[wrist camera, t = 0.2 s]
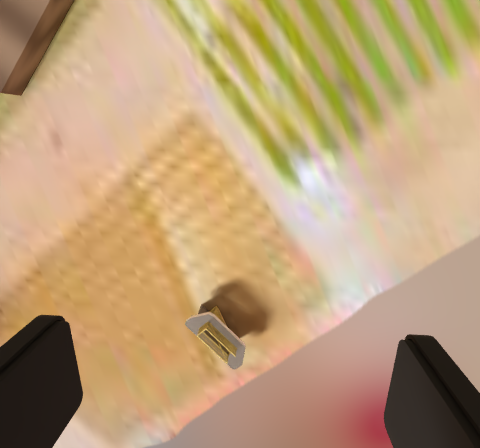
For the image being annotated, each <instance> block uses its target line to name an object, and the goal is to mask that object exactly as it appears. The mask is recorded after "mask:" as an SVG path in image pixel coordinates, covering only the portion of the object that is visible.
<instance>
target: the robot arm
mask: <svg viewBox="0 0 480 448" xmlns="http://www.w3.org/2000/svg"><path fill="white" fill-rule="evenodd" d="M82 397H83V391H82V386H81V381H80V375H79V370H78V365H77V360H76V355H75V350H74V345H73V340H72V335H71V330H70V325H69V323H68V322H66V321H65V319H64V318H63V317H62V316H54V315H39V316H38V317H36V318H35V319H34V320H32V321H31V322H30V323H29V324H28V325H26V326H25V327H24V328H23V329H22V330H20V331H19V332H18V333H17V334H16V335H14V336H13V337H12V338H11V339H10V340H8V341H7V342H6V343H5V344H4V345H2V346H1V347H0V448H52V447H53V446H54V444H55V443H56V441H57V440H58V438H59V437H60V435H61V434H62V432H63V430H64V429H65V427H66V426H67V424H68V423H69V421H70V420H71V418H72V417H73V415H74V414H75V412H76V411H77V409H78V408H79V406H80V404H81V401H82ZM384 422H385V427H386V430H387V433H388V435H389V438H390V440H391V443H392V445H393V447H394V448H480V393H479V392H478V391H477V389H476V388H475V387H474V386H473V384H472V383H471V382H470V381H469V380H468V378H467V377H466V376H465V375H464V373H463V372H462V371H461V370H460V368H459V367H458V366H457V365H456V364H455V362H454V361H453V360H452V359H451V357H450V356H449V355H448V354H447V353H446V352H445V350H444V349H443V348H442V346H441V345H440V344H439V343H438V341H437V340H436V339H435V338H434V337H432V336H428V335H407V336H406V338H405V340H400V341H399V344H398V349H397V354H396V359H395V363H394V368H393V373H392V378H391V383H390V387H389V392H388V398H387V403H386V407H385V412H384Z"/></svg>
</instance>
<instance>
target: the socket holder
mask: <svg viewBox="0 0 480 448" xmlns="http://www.w3.org/2000/svg"><path fill="white" fill-rule="evenodd" d="M73 1H74V0H0V93H5V94H13V95H21V94H22V93H23V91H24V89H25V87H26V85H27V84H28V82H29V80H30V78H31V76H32V75H33V73H34V71H35V69H36V67H37V66H38V64H39V62H40V60H41V58H42V57H43V55H44V53H45V51H46V49H47V48H48V46H49V44H50V42H51V40H52V39H53V37H54V35H55V33H56V32H57V30H58V28H59V26H60V24H61V23H62V21H63V19H64V17H65V15H66V14H67V12H68V10H69V8H70V6H71V5H72V3H73Z"/></svg>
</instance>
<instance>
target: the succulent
mask: <svg viewBox="0 0 480 448" xmlns="http://www.w3.org/2000/svg"><path fill="white" fill-rule="evenodd" d="M185 325H186V326H187V327H188V328H189V329H190V330H191V331H192V332H193V333H194V334H195V335H196V336H197V337H198V338H199V339H200V340H201V341H202V342H203V343H205V344H206V345H207V346H208V347H209V348H210V349H211V350H212V351H213V352H214V353H215V354H216V355H217V356H219V357H220V358H221V359H222V360H223V361H224V362H225V363H226V364H228V365H229V366H230V367H231V368H232V369H237V368H238V367H240V366H241V365H242V363H243V358H244V352H245V343H244V342H243V341H242V340H241V339H239V338H238V337H237V336H236V335H235V334H234V333H233V332H232V331H231V330H230V329H229V328H228V327H227V325H226V324H225V321H224V318H223V317H222V315H221V312H220V311H219V309H218V306H215V307H214V308H213V309H212V310H210V311H208V310H207V309H206V308H205V307H204V306H203V305H201V307H200V310H199V313H198V314H197V315H192V316H191V317H190V318H188V319H187V320H186V323H185Z"/></svg>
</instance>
